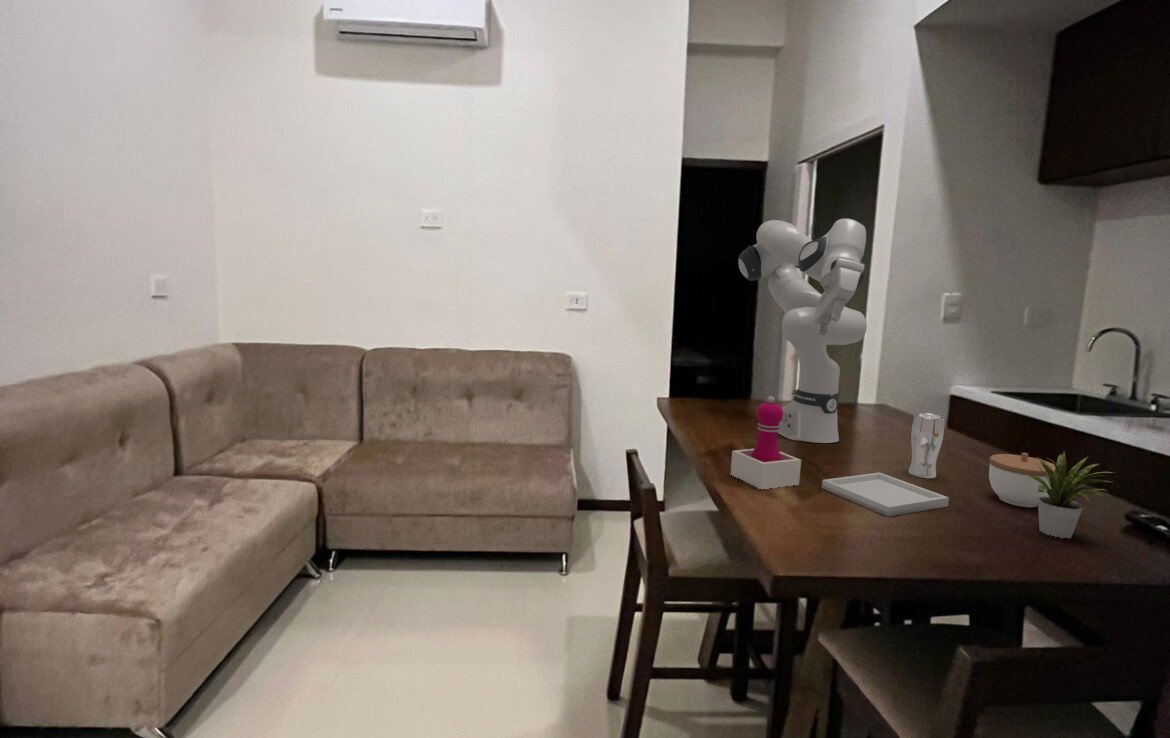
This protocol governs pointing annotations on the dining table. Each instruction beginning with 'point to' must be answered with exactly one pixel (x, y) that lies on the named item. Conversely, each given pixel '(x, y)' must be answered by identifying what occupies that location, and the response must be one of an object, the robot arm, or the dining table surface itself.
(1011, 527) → the dining table surface
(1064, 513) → the house plant
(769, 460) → the pepper mill
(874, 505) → the tray
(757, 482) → the open rectangular box
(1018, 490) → the lidded bowl
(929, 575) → the dining table surface
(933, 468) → the beer glass
